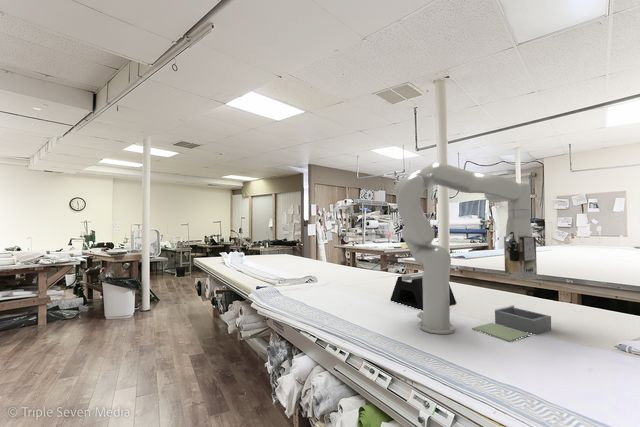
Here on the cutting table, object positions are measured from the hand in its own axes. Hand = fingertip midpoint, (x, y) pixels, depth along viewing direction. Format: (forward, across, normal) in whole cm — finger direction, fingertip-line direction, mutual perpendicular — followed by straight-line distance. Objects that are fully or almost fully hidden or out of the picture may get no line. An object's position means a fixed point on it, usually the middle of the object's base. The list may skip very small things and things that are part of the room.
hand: (520, 260), depth 118 cm
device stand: (+26, +7, -44) cm, 52 cm away
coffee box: (+7, 0, 0) cm, 7 cm away
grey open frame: (+26, 0, 0) cm, 26 cm away
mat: (+26, +14, 0) cm, 29 cm away
